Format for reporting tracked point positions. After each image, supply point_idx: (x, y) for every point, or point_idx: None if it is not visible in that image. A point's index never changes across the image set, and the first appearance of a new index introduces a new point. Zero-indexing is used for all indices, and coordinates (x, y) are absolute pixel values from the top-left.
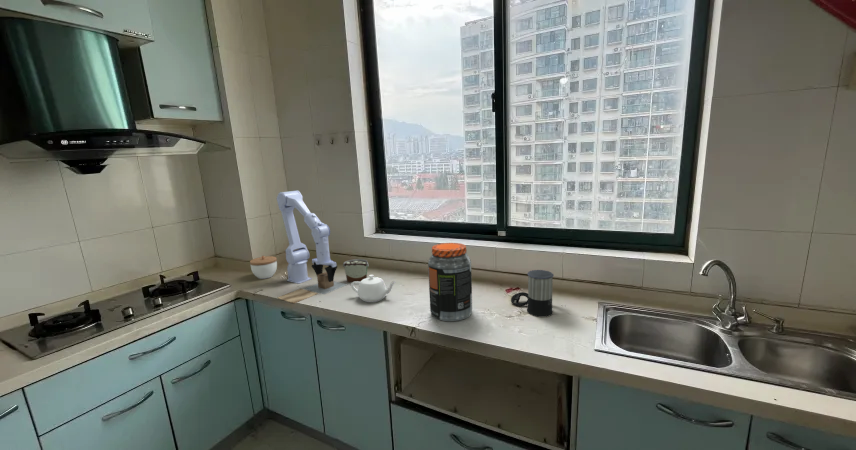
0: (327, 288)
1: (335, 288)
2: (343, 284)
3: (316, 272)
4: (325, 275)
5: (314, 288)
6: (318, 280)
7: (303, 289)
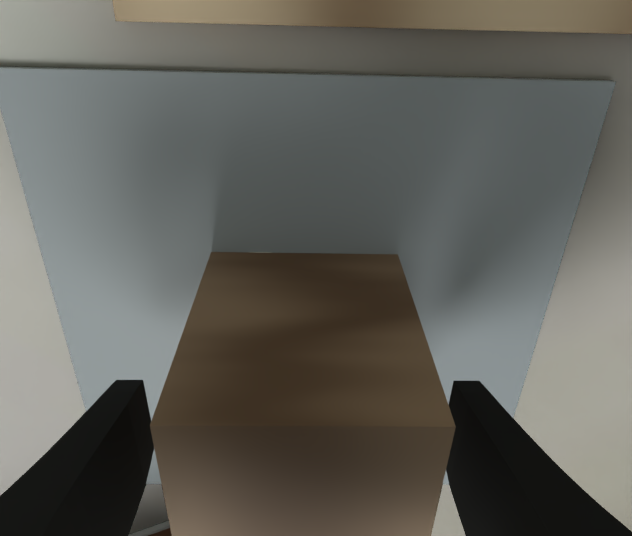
0: None
1: (105, 338)
2: (156, 464)
3: (543, 499)
4: (206, 480)
5: (420, 189)
6: (394, 331)
7: (587, 31)
